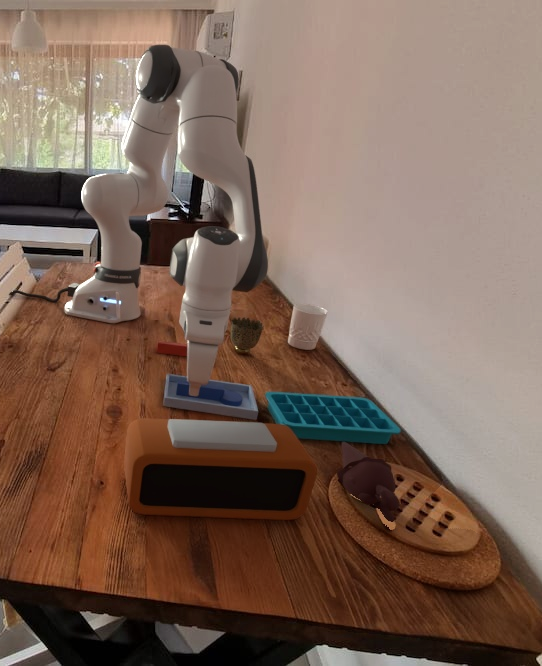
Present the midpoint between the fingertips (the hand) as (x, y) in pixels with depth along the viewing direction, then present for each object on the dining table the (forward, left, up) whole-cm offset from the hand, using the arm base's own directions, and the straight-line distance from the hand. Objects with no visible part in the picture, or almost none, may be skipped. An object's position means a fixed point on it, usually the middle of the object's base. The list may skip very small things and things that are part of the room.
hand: (193, 382), depth 90 cm
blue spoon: (+4, 0, -3) cm, 4 cm away
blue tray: (+3, 0, -3) cm, 5 cm away
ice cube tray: (+24, -3, -3) cm, 25 cm away
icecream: (+24, -22, -3) cm, 33 cm away
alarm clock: (+2, -28, -3) cm, 29 cm away
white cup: (+28, +36, -3) cm, 46 cm away
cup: (+12, +26, -3) cm, 29 cm away
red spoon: (-2, +20, -3) cm, 20 cm away
